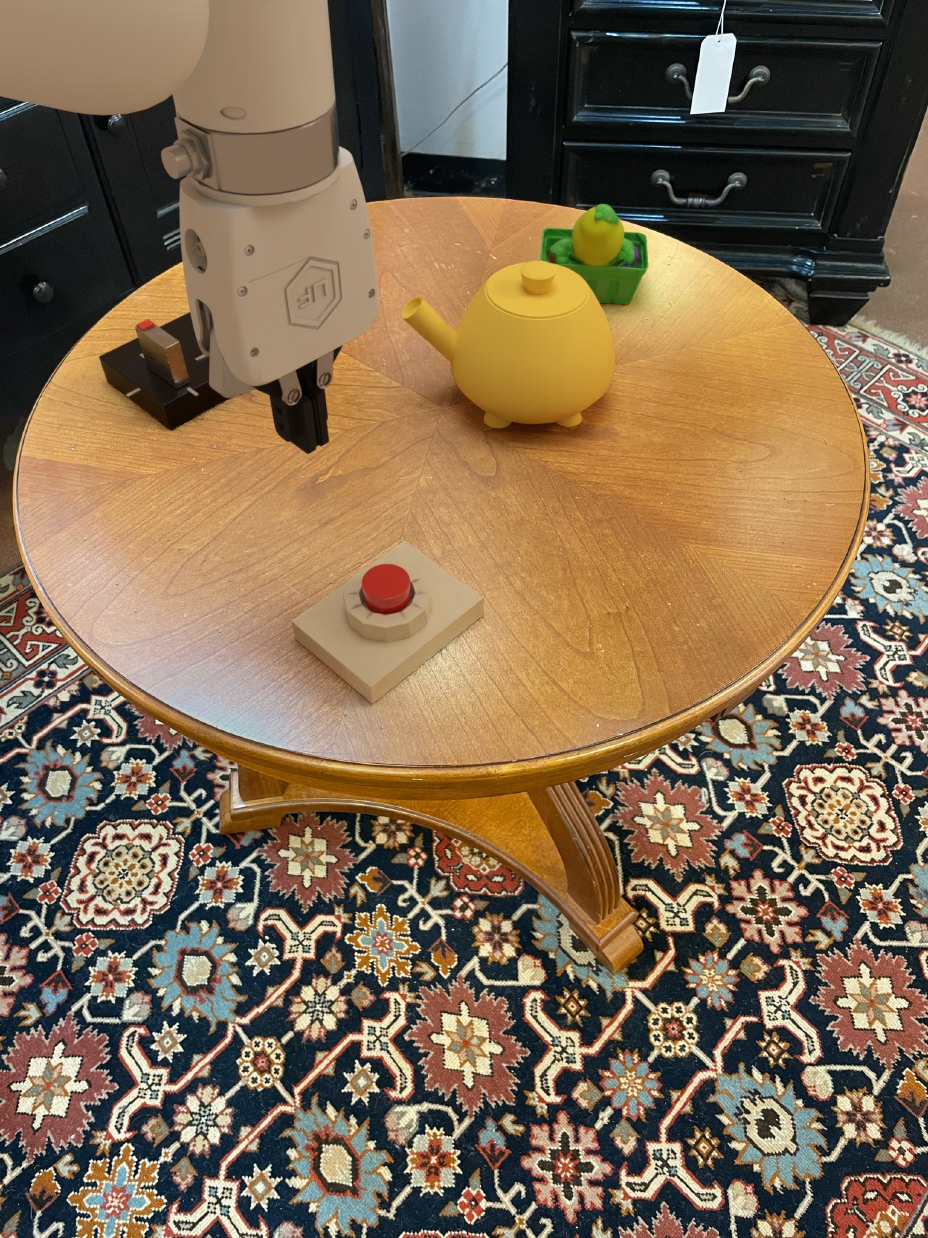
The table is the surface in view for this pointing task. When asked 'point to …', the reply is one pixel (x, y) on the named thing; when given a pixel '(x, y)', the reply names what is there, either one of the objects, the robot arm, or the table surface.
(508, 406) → the teapot
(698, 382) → the table surface
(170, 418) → the panel
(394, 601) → the button
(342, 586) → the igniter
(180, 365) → the hob knob
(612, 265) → the fruit basket
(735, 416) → the table surface
